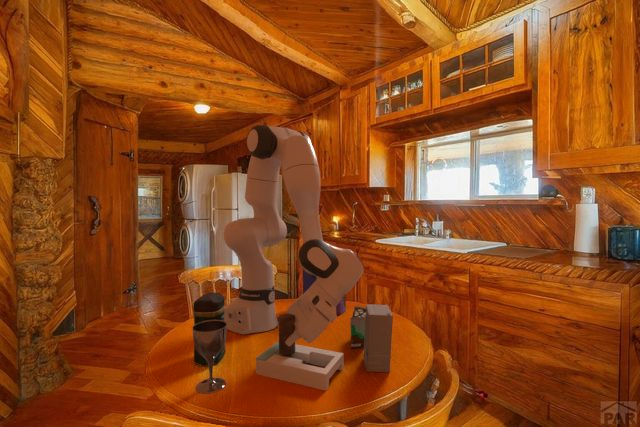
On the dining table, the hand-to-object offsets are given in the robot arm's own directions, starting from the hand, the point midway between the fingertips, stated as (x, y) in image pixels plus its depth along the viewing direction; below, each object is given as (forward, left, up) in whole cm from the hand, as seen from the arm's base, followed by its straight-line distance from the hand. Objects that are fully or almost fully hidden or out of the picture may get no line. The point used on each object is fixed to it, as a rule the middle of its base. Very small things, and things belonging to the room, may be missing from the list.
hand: (284, 339), depth 93 cm
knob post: (0, 0, -8) cm, 8 cm away
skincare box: (+23, +11, -8) cm, 27 cm away
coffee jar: (-22, -4, -8) cm, 24 cm away
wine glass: (-12, -15, -8) cm, 21 cm away
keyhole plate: (+5, 0, -8) cm, 9 cm away
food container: (+15, +23, -8) cm, 29 cm away
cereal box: (-9, +48, -8) cm, 50 cm away
